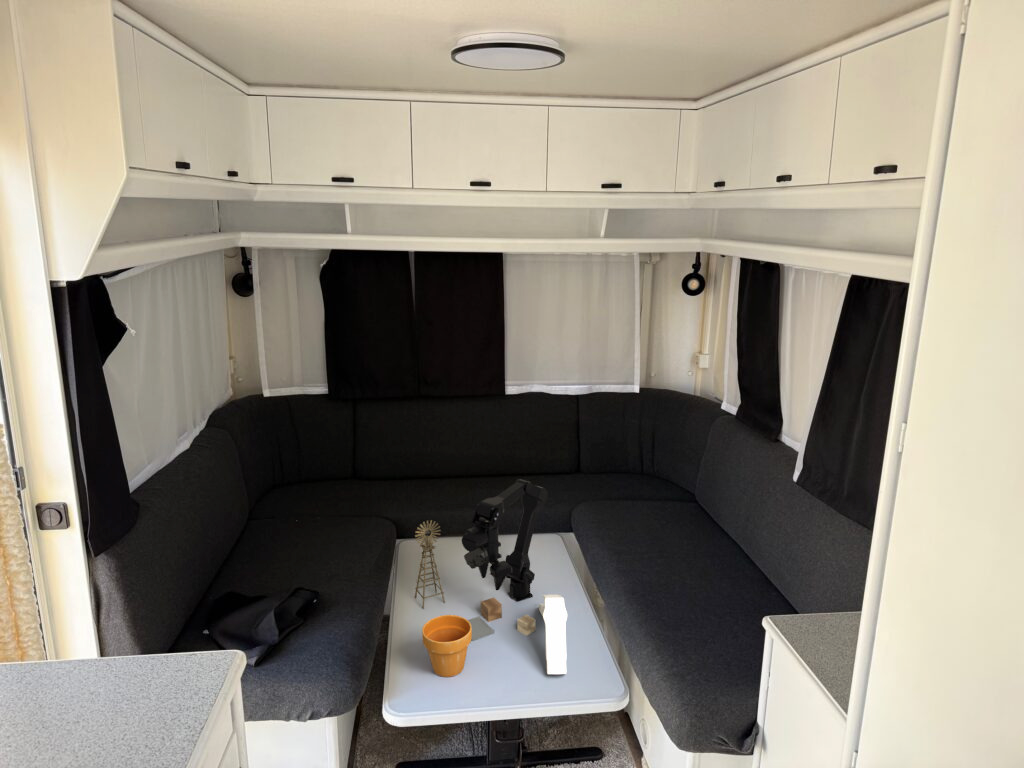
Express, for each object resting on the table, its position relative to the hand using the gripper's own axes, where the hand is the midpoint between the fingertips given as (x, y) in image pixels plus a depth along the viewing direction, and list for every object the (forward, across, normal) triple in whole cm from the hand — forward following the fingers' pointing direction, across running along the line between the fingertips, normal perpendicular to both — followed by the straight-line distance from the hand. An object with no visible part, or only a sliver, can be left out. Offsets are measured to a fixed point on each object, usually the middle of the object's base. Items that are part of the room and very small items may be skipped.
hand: (490, 583), depth 226 cm
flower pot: (+12, +17, -24) cm, 32 cm away
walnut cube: (+12, 0, 0) cm, 12 cm away
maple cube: (+12, +13, +6) cm, 19 cm away
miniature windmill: (+12, -20, -13) cm, 27 cm away
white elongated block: (+12, +23, +9) cm, 27 cm away
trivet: (+12, +4, -8) cm, 15 cm away
